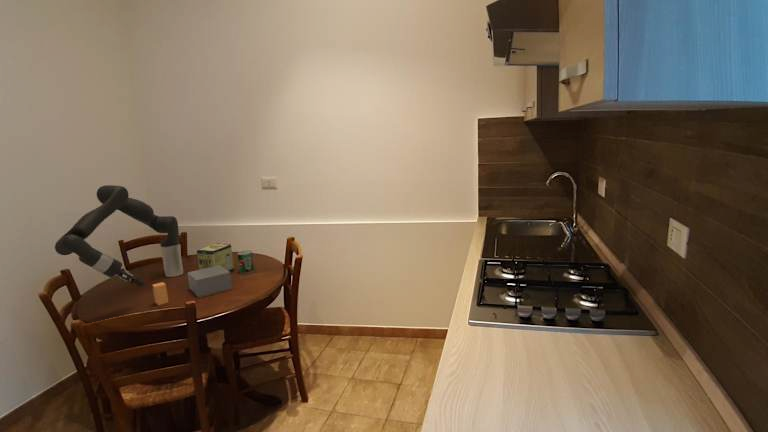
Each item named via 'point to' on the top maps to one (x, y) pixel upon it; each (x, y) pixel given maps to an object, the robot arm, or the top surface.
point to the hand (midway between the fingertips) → (140, 283)
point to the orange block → (160, 293)
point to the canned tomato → (245, 262)
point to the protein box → (216, 256)
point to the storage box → (209, 281)
